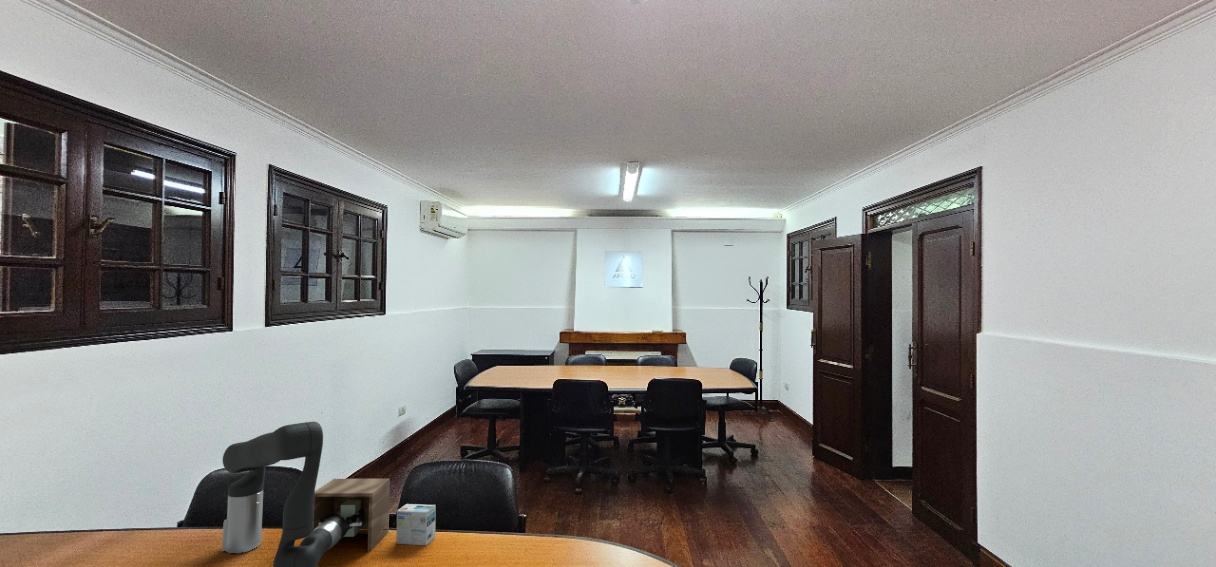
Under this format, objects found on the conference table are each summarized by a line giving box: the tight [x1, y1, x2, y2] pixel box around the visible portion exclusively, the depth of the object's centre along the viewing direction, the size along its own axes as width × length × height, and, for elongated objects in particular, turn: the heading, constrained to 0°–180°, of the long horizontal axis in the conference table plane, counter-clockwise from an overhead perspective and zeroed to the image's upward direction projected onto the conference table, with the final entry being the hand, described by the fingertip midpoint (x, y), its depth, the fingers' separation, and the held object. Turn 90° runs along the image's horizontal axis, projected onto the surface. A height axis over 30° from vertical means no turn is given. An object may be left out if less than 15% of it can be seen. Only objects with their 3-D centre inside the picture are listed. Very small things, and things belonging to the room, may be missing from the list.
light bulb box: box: [395, 503, 437, 546], centre depth 169 cm, size 11×7×11 cm, turn 84°
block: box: [341, 500, 361, 538], centre depth 167 cm, size 4×4×10 cm
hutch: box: [312, 478, 391, 552], centre depth 168 cm, size 19×14×18 cm
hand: (354, 511), depth 170 cm, fingers closed on block, 4 cm apart
